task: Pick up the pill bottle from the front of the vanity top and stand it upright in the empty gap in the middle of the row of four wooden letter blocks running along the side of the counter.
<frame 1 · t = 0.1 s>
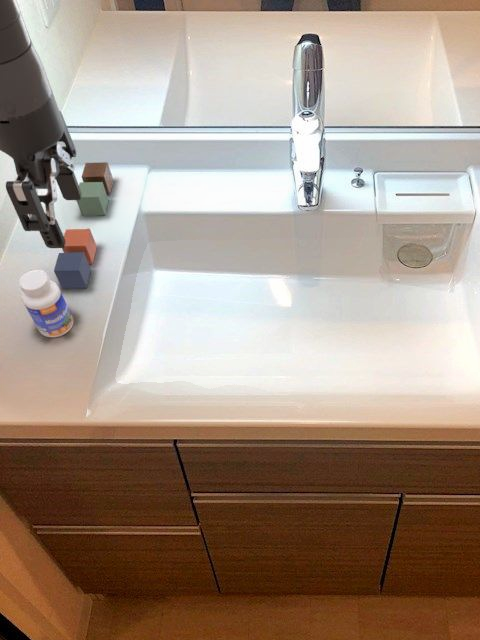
hand: (65, 221, 76), 23 cm above the worktop, tool pointing down, fingers open, 8 cm apart
block 3: (83, 255, 105), on the worktop
block 4: (76, 279, 102), on the worktop
block 2: (95, 208, 112), on the worktop
block 1: (101, 188, 115), on the worktop
pill bottle: (57, 325, 97), on the worktop
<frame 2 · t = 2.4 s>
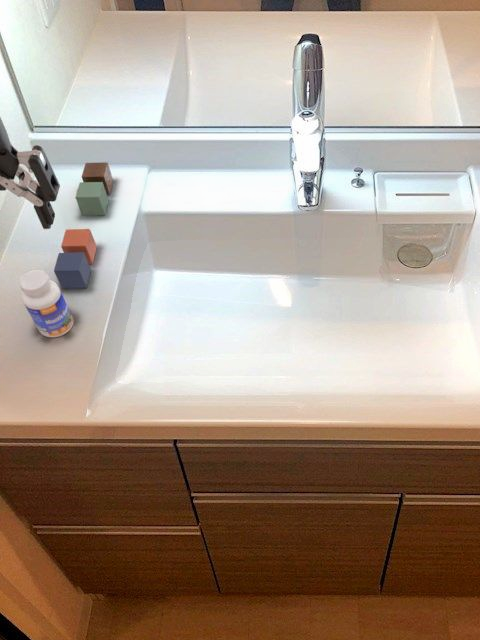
hand: (14, 225, 80), 20 cm above the worktop, tool pointing down, fingers open, 8 cm apart
nothing on the worktop moved.
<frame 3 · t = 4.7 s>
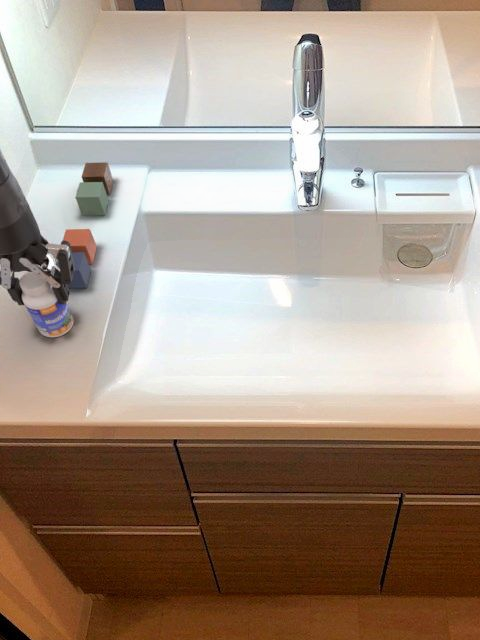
hand: (43, 300, 93), 5 cm above the worktop, tool pointing down, fingers closed on pill bottle, 5 cm apart
pill bottle: (57, 325, 97), on the worktop, touching gripper
everything else where it was.
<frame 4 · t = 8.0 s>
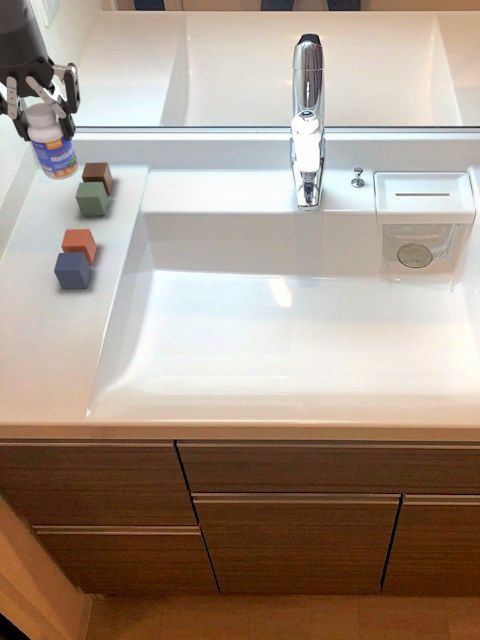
hand: (49, 137, 93), 19 cm above the worktop, tool pointing down, fingers closed on pill bottle, 5 cm apart
pill bottle: (62, 170, 97), point 13 cm above the worktop, touching gripper
everything else where it was.
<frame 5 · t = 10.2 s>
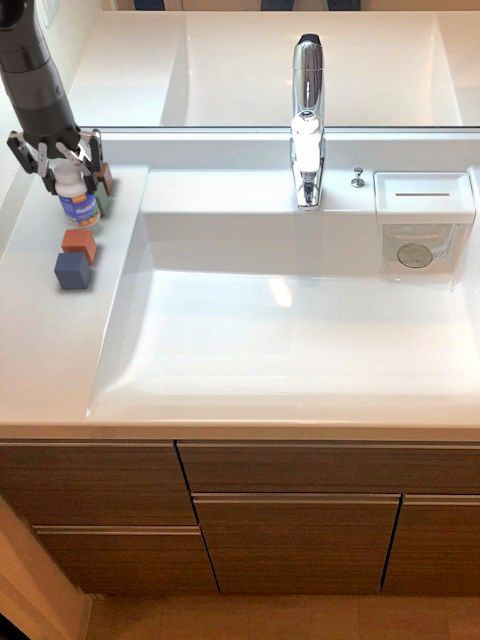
hand: (74, 191, 102), 8 cm above the worktop, tool pointing down, fingers closed on pill bottle, 5 cm apart
pill bottle: (85, 219, 107), point 2 cm above the worktop, touching gripper
everything else where it was.
when the fingers open (5 cm above the worktop, at t = 11.5 s): pill bottle stays where it is, on the worktop.
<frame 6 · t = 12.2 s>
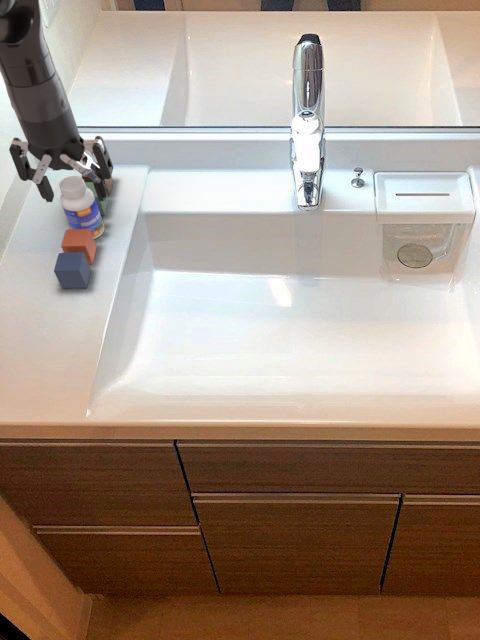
hand: (76, 198, 103), 7 cm above the worktop, tool pointing down, fingers open, 8 cm apart
pill bottle: (89, 231, 109), on the worktop
everything else where it was.
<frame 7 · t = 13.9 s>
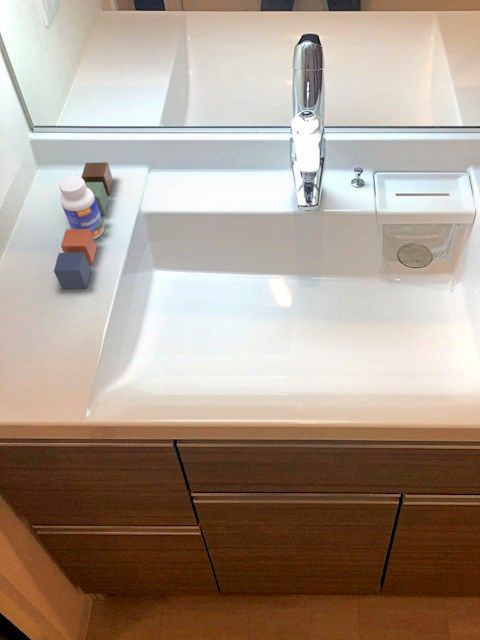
nothing on the worktop moved.
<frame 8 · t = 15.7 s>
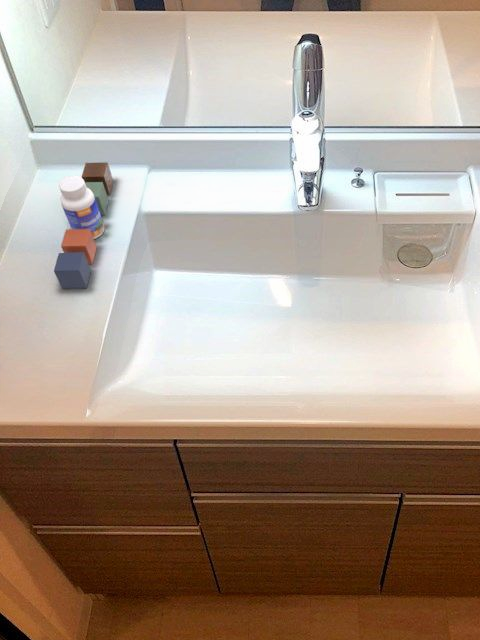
nothing on the worktop moved.
at the end: pill bottle 0.0 cm from the target spot on the worktop beside the block 1, on the worktop; pill bottle tilted 0°; block 3 moved 0.0 cm from its start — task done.
